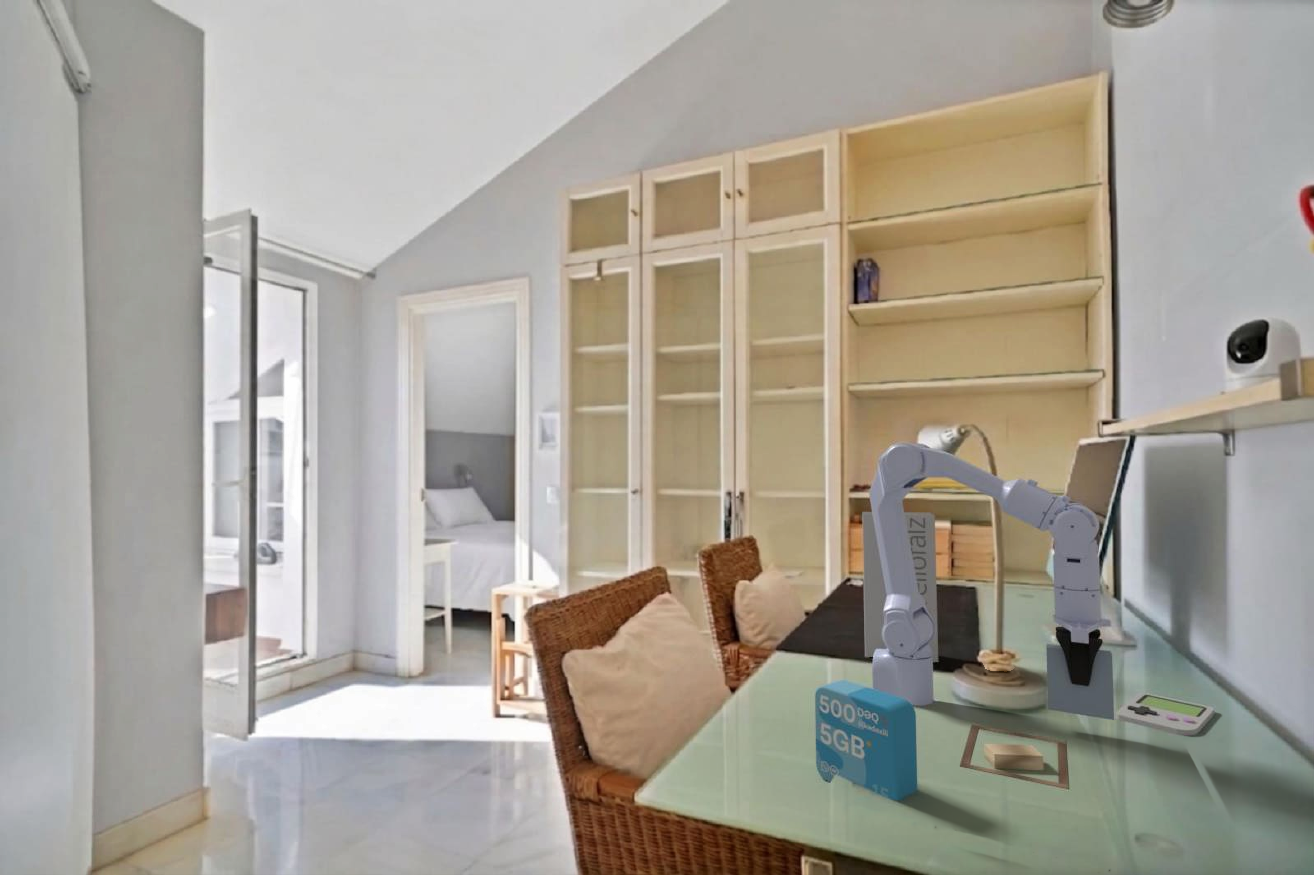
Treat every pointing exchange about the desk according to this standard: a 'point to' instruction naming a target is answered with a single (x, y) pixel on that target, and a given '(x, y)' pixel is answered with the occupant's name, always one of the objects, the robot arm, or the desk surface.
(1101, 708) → the slate sheet
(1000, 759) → the upper offcut
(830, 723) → the data package
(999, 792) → the desk surface
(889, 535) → the robot arm
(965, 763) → the walnut frame
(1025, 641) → the desk surface
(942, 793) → the desk surface
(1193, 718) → the handheld gaming console
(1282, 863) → the desk surface
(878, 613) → the grey lettered box
